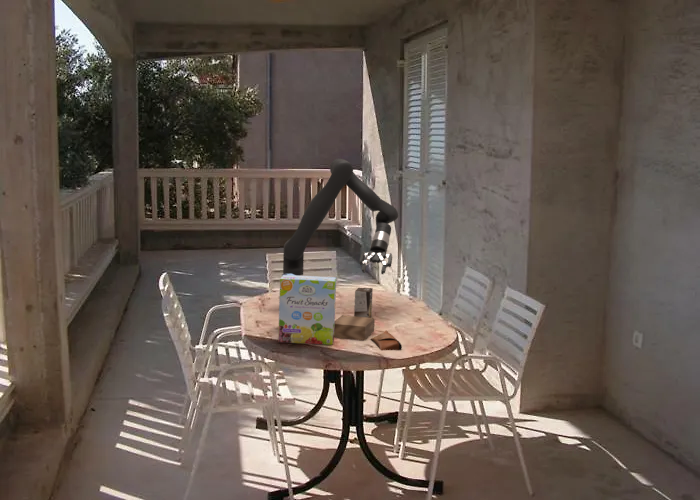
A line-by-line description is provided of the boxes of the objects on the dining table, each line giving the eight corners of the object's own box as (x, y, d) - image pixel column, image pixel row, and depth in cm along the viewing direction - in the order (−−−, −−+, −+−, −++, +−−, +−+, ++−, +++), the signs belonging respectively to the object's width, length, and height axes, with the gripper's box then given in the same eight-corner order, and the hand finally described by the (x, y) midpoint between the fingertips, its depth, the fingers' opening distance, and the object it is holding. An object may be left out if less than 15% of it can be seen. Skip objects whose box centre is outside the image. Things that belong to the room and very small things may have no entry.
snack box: (277, 343, 307) (278, 278, 304) (280, 337, 316) (281, 274, 312) (333, 345, 306) (335, 280, 303) (334, 340, 315) (336, 276, 311)
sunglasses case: (368, 338, 318) (376, 324, 318) (382, 346, 320) (390, 332, 320) (380, 350, 301) (390, 335, 301) (395, 359, 303) (404, 344, 303)
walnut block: (331, 338, 319) (331, 323, 318) (341, 329, 335) (342, 315, 334) (364, 341, 316) (365, 326, 315) (374, 332, 331) (374, 318, 330)
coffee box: (368, 329, 334) (369, 291, 332) (353, 328, 336) (354, 290, 333) (372, 324, 343) (373, 287, 341) (357, 323, 344) (358, 286, 342)
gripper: (363, 237, 358) (355, 266, 349) (394, 239, 354) (387, 268, 345) (366, 247, 364) (358, 276, 355) (396, 249, 360) (389, 278, 351)
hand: (372, 272), depth 350 cm, fingers open, 8 cm apart
